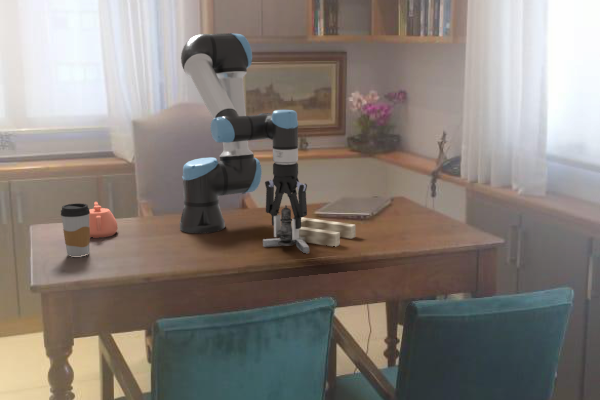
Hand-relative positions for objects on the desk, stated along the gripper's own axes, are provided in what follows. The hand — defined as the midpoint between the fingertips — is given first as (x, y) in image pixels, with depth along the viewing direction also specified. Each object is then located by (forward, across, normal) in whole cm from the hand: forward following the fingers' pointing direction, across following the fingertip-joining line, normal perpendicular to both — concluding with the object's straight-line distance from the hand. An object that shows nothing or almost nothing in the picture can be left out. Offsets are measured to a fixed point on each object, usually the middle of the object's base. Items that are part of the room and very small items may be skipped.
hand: (286, 237), depth 226 cm
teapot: (+4, -64, -15) cm, 66 cm away
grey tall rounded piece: (+2, 0, 0) cm, 2 cm away
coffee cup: (+4, -51, -36) cm, 63 cm away
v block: (+4, 0, +3) cm, 5 cm away
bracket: (+4, +2, +16) cm, 17 cm away
